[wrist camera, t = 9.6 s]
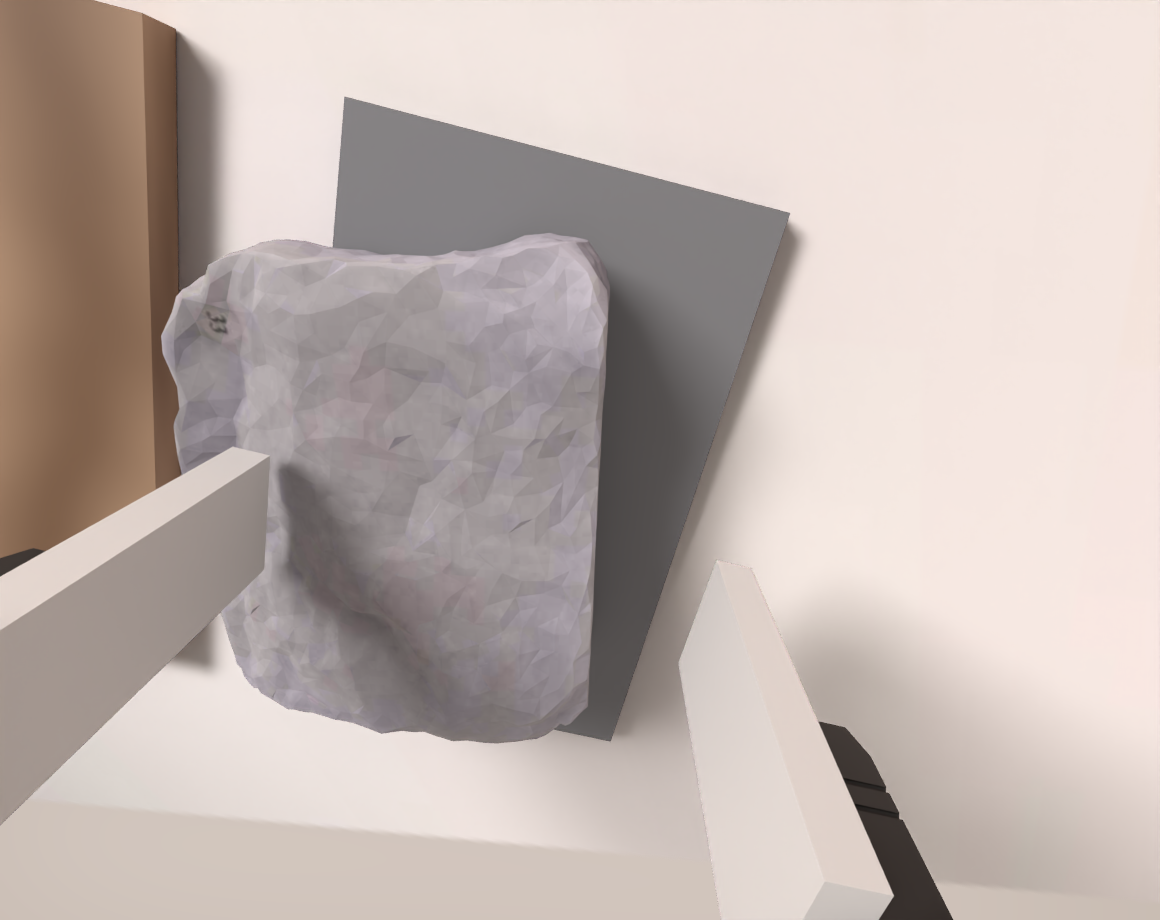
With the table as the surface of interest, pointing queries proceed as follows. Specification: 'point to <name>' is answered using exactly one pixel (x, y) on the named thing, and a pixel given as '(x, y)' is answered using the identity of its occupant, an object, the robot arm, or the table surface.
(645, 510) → the mat
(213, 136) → the table surface
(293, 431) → the stone block
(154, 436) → the pocket board
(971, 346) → the table surface
